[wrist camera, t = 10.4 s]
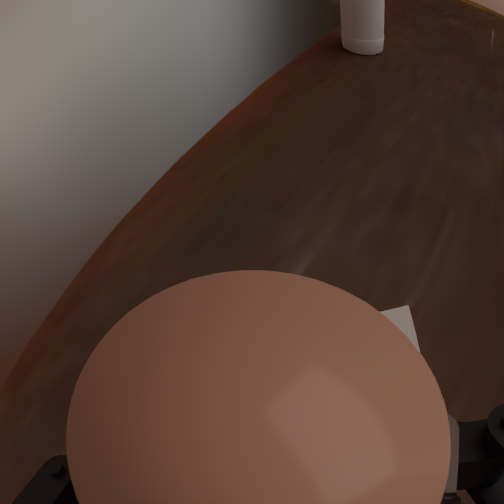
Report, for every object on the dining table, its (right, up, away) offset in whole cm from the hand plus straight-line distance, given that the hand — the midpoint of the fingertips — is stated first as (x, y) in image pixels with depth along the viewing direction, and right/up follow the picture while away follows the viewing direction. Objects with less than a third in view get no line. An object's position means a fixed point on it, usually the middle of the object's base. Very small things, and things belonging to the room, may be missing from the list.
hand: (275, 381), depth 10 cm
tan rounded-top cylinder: (+1, -4, +4) cm, 6 cm away
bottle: (+20, +42, +37) cm, 59 cm away
